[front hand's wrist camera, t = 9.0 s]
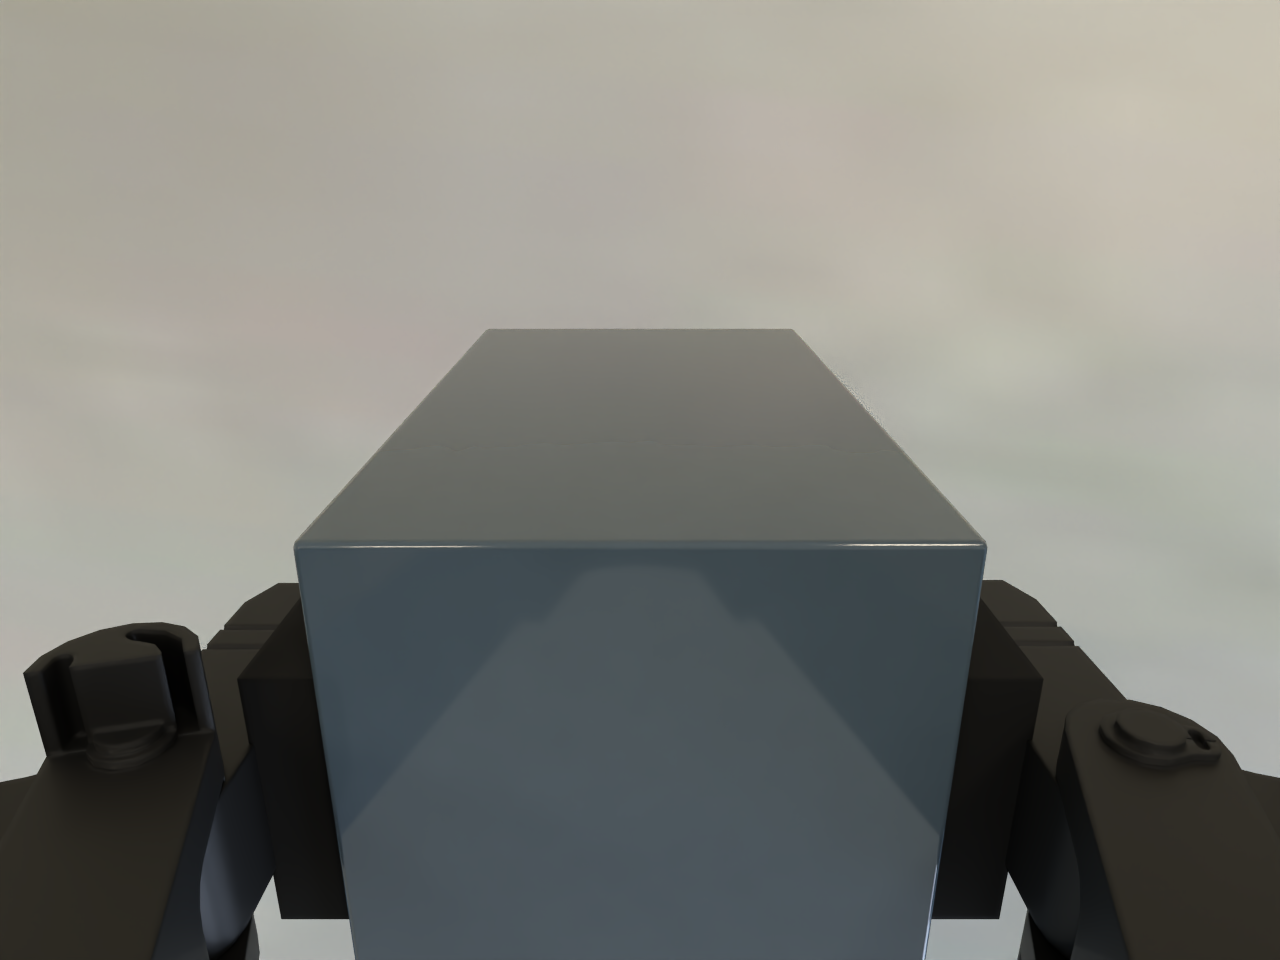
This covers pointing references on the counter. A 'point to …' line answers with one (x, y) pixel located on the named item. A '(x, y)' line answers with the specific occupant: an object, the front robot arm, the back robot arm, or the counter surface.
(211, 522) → the counter surface
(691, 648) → the brick
